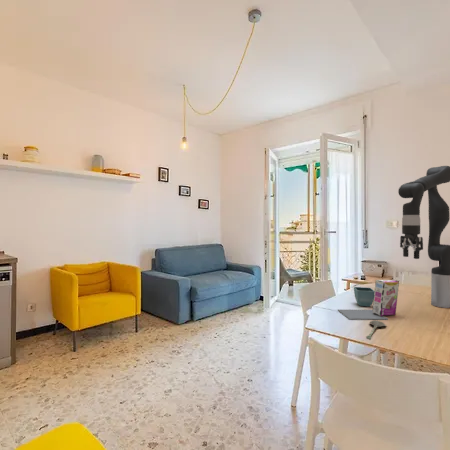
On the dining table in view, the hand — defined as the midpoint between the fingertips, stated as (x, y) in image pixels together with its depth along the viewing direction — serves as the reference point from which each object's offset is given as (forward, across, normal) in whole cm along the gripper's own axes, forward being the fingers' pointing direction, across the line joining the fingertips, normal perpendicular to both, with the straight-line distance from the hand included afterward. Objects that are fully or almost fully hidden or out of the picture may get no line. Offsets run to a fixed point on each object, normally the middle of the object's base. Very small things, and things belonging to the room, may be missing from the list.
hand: (410, 257), depth 143 cm
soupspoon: (+28, -22, +28) cm, 46 cm away
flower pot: (+28, +16, +16) cm, 36 cm away
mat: (+28, -1, +24) cm, 37 cm away
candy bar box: (+28, -1, +13) cm, 31 cm away
